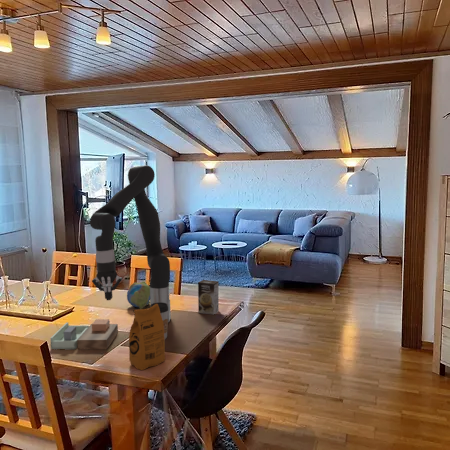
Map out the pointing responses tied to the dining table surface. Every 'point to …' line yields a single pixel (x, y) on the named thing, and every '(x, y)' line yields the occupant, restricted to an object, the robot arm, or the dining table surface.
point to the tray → (58, 337)
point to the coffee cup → (163, 315)
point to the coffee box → (208, 297)
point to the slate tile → (70, 334)
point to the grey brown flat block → (97, 338)
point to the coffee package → (147, 338)
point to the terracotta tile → (100, 325)
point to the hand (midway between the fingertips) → (108, 299)
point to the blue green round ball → (139, 295)
